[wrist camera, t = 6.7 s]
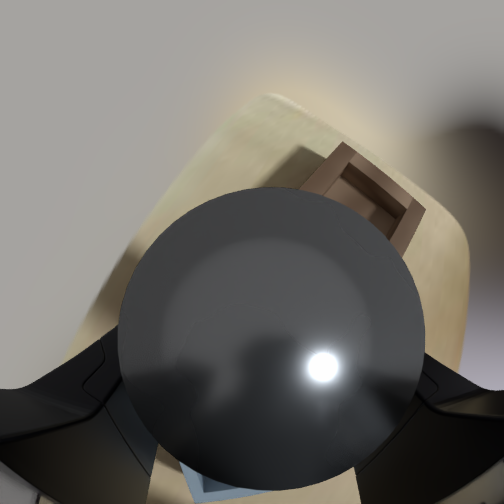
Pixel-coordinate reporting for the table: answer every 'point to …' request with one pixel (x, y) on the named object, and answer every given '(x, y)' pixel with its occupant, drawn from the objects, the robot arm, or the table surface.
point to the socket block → (368, 194)
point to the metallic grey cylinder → (271, 339)
